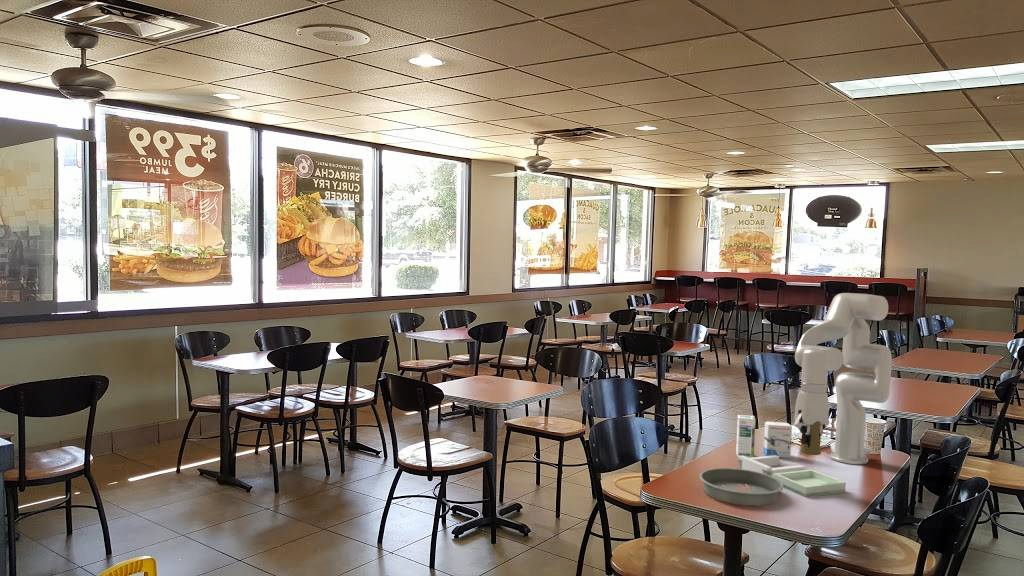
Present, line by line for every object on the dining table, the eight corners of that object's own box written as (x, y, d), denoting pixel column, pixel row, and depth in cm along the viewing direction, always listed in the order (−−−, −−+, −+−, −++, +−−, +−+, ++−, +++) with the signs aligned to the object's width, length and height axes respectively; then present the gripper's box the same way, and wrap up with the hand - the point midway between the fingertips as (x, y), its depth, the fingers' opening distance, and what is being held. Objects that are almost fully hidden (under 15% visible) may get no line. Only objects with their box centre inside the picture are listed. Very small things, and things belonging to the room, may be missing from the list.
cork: (811, 455, 226) (813, 420, 226) (796, 450, 232) (797, 416, 231) (825, 453, 229) (827, 419, 229) (809, 449, 235) (811, 415, 234)
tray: (811, 478, 241) (811, 469, 240) (845, 491, 228) (845, 482, 227) (772, 482, 235) (773, 473, 234) (805, 497, 222) (805, 487, 221)
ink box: (766, 456, 265) (767, 424, 264) (762, 452, 270) (764, 421, 269) (790, 458, 264) (792, 426, 263) (787, 454, 269) (788, 422, 268)
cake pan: (801, 502, 218) (802, 487, 218) (738, 513, 207) (739, 497, 207) (741, 477, 240) (742, 463, 240) (682, 486, 229) (682, 471, 229)
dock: (774, 463, 256) (775, 452, 256) (804, 475, 243) (805, 463, 243) (737, 467, 250) (738, 455, 250) (766, 479, 237) (766, 467, 237)
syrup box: (737, 457, 263) (739, 417, 262) (735, 452, 268) (737, 413, 268) (753, 458, 261) (755, 418, 261) (752, 454, 267) (754, 415, 266)
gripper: (824, 385, 236) (821, 441, 237) (784, 387, 230) (781, 444, 231) (843, 389, 229) (839, 447, 230) (802, 391, 223) (799, 451, 224)
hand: (810, 445), depth 230 cm, fingers closed on cork, 3 cm apart
